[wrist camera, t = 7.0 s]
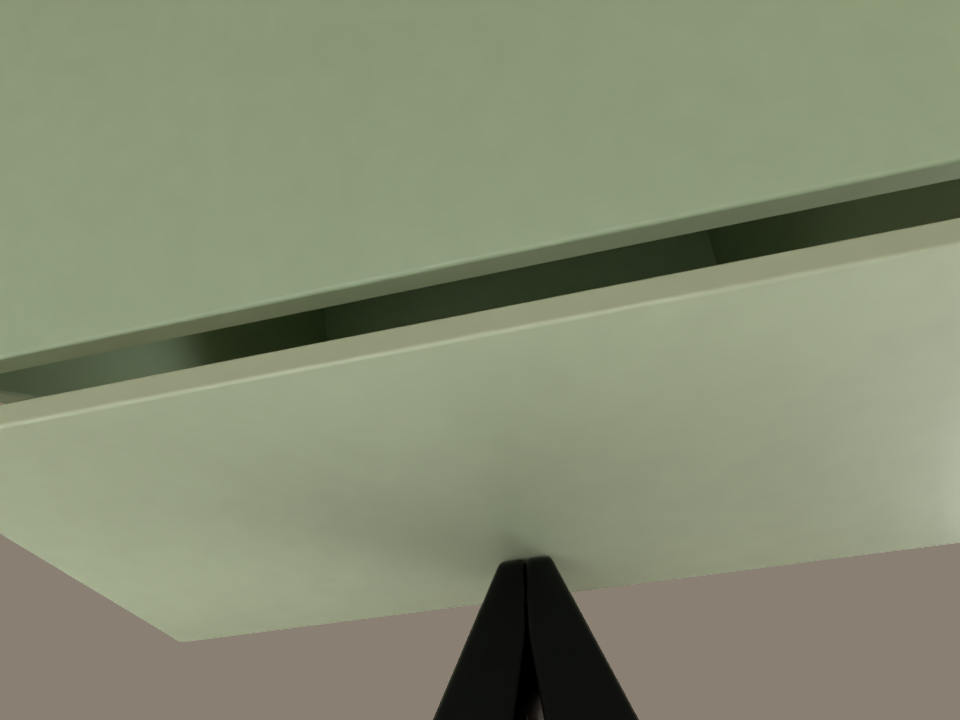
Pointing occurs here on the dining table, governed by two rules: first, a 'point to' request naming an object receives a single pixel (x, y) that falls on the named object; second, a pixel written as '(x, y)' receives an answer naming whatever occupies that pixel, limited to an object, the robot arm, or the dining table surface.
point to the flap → (516, 446)
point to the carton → (431, 160)
